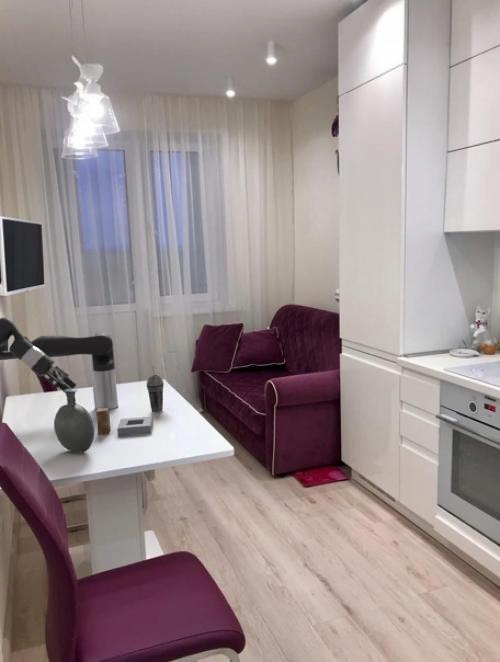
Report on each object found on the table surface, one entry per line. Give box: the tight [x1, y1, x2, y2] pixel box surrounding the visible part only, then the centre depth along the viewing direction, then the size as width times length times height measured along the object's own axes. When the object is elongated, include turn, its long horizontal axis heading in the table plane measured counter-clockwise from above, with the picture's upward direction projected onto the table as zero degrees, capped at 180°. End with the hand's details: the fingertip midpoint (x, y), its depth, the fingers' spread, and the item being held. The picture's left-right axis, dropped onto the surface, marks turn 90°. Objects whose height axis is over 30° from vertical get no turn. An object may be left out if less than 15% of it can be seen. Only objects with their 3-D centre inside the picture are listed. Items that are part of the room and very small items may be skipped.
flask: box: [53, 388, 95, 454], centre depth 177 cm, size 12×17×22 cm
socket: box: [116, 415, 154, 437], centre depth 199 cm, size 12×12×3 cm
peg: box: [95, 408, 111, 436], centre depth 197 cm, size 4×4×9 cm
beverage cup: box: [146, 365, 164, 413], centre depth 222 cm, size 7×7×20 cm
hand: (72, 389), depth 196 cm, fingers open, 8 cm apart
